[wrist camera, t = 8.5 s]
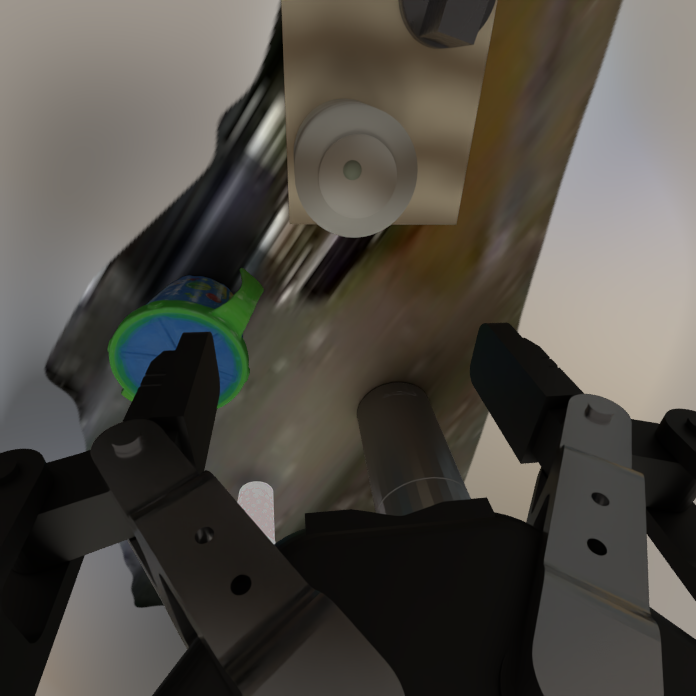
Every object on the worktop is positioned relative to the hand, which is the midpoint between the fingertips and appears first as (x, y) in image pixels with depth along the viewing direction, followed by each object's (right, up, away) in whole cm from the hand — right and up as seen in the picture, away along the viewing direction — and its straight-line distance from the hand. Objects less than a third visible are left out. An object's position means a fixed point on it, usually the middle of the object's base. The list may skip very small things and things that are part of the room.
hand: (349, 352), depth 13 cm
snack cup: (-15, +4, +29) cm, 33 cm away
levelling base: (+3, +22, +19) cm, 30 cm away
